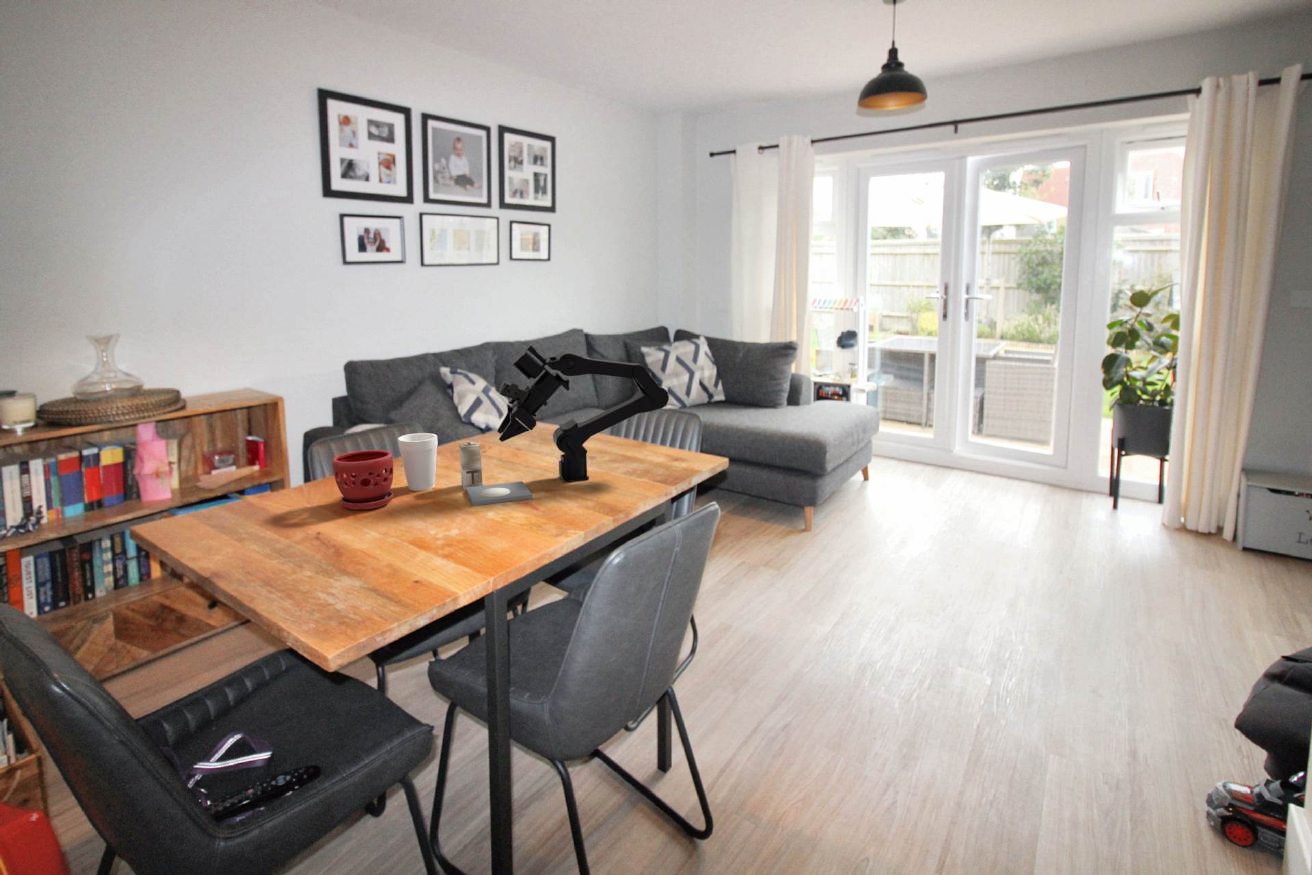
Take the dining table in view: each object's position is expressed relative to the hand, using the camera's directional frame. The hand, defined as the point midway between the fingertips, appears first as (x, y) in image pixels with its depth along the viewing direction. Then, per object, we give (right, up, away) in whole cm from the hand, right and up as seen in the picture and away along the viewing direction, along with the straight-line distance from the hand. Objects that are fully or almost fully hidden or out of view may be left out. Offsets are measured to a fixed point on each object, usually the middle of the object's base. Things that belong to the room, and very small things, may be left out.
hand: (499, 436), depth 188 cm
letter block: (-7, -13, +1) cm, 15 cm away
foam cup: (-20, -13, +1) cm, 24 cm away
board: (+1, -14, -6) cm, 16 cm away
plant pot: (-29, -16, -12) cm, 35 cm away
